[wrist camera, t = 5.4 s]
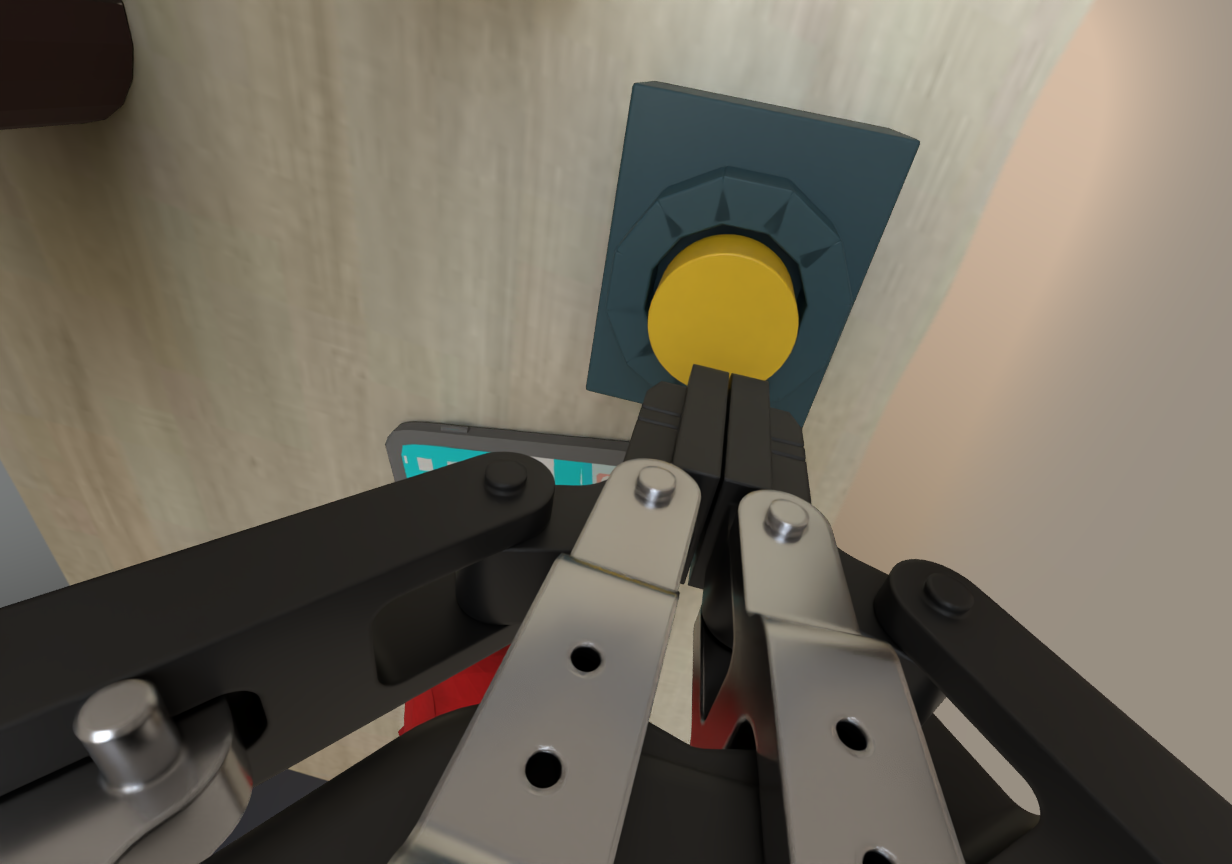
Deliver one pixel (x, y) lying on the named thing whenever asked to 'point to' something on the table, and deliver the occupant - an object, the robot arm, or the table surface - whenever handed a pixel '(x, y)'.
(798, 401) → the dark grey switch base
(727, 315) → the button
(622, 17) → the table surface
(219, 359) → the table surface
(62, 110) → the lantern
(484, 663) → the flower
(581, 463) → the smartphone
